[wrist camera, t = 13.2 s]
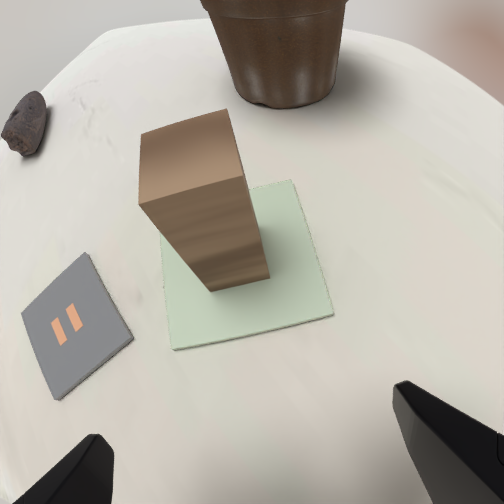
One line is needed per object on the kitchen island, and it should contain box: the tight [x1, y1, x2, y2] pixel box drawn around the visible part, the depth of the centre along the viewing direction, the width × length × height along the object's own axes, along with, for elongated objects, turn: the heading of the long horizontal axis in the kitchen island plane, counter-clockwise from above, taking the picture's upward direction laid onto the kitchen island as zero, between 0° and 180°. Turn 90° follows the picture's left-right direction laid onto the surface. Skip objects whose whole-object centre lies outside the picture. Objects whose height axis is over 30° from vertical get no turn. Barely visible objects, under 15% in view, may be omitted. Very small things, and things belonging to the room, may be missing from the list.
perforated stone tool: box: [1, 91, 47, 156], centre depth 37 cm, size 15×5×7 cm, turn 14°
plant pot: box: [200, 0, 348, 108], centre depth 27 cm, size 16×16×16 cm
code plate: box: [21, 252, 134, 400], centre depth 25 cm, size 10×10×1 cm
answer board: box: [160, 180, 334, 350], centre depth 25 cm, size 12×12×1 cm
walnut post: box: [139, 109, 270, 292], centre depth 19 cm, size 5×5×12 cm
